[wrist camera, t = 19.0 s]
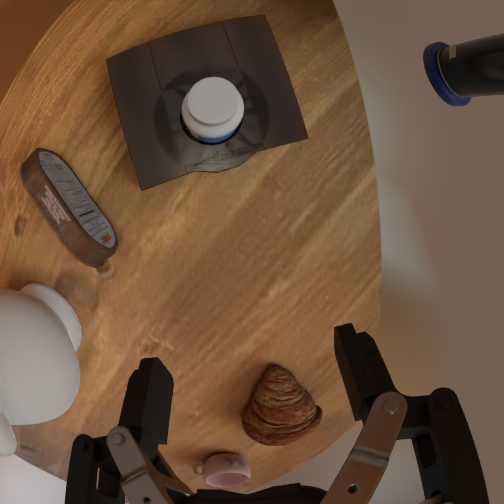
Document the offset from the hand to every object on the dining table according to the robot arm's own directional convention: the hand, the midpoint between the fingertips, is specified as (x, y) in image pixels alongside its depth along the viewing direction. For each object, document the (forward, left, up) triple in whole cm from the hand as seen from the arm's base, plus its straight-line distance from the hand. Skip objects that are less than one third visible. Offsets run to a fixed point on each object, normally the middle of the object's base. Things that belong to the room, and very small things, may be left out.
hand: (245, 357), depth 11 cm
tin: (+14, -10, -21) cm, 27 cm away
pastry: (+1, +31, -21) cm, 38 cm away
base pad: (-3, -16, -21) cm, 27 cm away
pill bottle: (-3, -13, -21) cm, 25 cm away
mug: (+17, +45, -21) cm, 53 cm away
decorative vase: (+29, +3, -21) cm, 36 cm away
